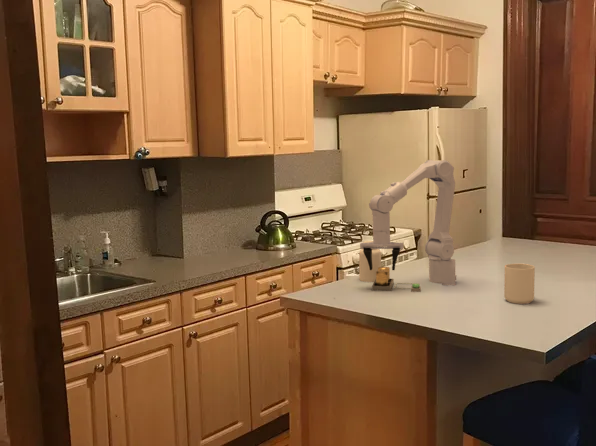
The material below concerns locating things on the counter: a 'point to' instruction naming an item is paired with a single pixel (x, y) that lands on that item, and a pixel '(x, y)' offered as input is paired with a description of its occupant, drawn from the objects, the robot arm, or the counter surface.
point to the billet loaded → (386, 270)
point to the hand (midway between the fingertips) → (382, 269)
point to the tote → (403, 283)
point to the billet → (382, 278)
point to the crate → (383, 288)
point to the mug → (519, 283)
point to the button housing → (415, 289)
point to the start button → (415, 285)
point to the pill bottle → (364, 269)
